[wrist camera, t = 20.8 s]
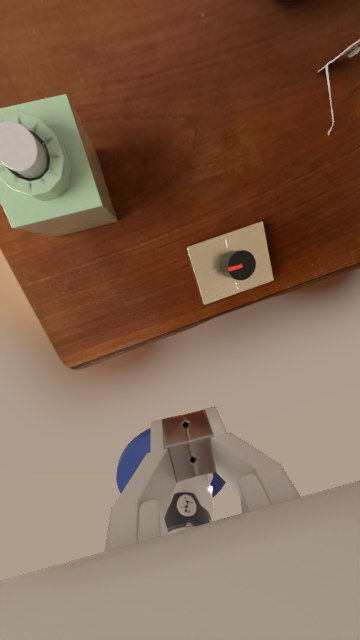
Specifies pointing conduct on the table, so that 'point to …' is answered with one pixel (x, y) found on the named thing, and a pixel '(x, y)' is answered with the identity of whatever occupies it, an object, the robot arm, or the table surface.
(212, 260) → the panel
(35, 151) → the grey cylindrical peg
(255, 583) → the robot arm
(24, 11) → the table surface
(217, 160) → the table surface
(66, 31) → the table surface
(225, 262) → the knob
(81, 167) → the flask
